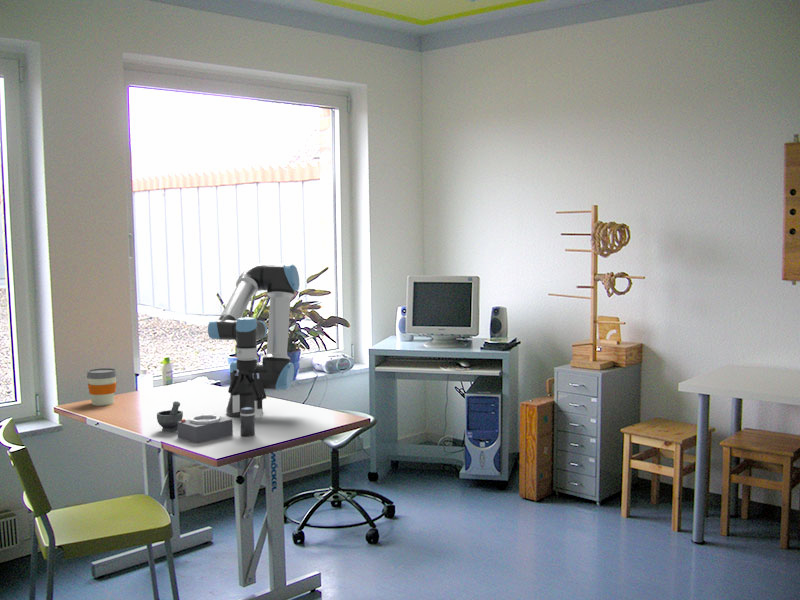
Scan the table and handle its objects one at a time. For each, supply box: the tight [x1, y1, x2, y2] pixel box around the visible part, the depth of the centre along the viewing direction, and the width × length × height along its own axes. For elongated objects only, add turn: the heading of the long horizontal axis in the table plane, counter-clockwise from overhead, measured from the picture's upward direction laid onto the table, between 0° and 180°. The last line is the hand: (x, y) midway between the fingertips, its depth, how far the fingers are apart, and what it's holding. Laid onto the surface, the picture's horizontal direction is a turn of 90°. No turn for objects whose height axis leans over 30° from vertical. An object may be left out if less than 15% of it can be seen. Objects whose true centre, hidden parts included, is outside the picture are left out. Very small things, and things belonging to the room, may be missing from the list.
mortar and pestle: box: [156, 400, 184, 433], centre depth 296 cm, size 11×9×12 cm
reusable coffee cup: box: [86, 367, 118, 406], centre depth 344 cm, size 13×13×15 cm
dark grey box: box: [177, 414, 234, 444], centre depth 288 cm, size 16×12×7 cm
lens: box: [239, 407, 256, 438], centre depth 290 cm, size 5×5×10 cm
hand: (247, 414), depth 290 cm, fingers open, 13 cm apart
